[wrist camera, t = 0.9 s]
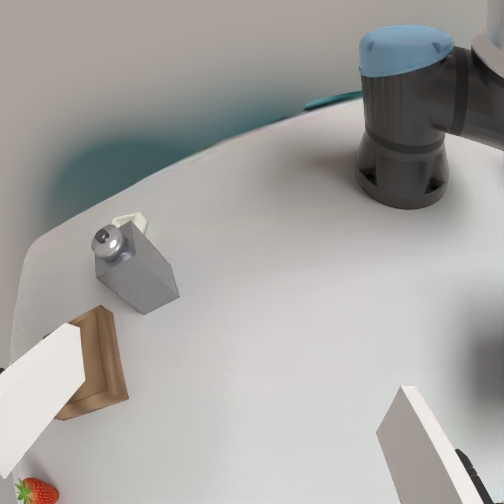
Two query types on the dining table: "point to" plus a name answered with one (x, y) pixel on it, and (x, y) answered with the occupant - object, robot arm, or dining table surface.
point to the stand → (96, 366)
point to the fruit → (37, 492)
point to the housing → (133, 267)
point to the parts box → (135, 218)
